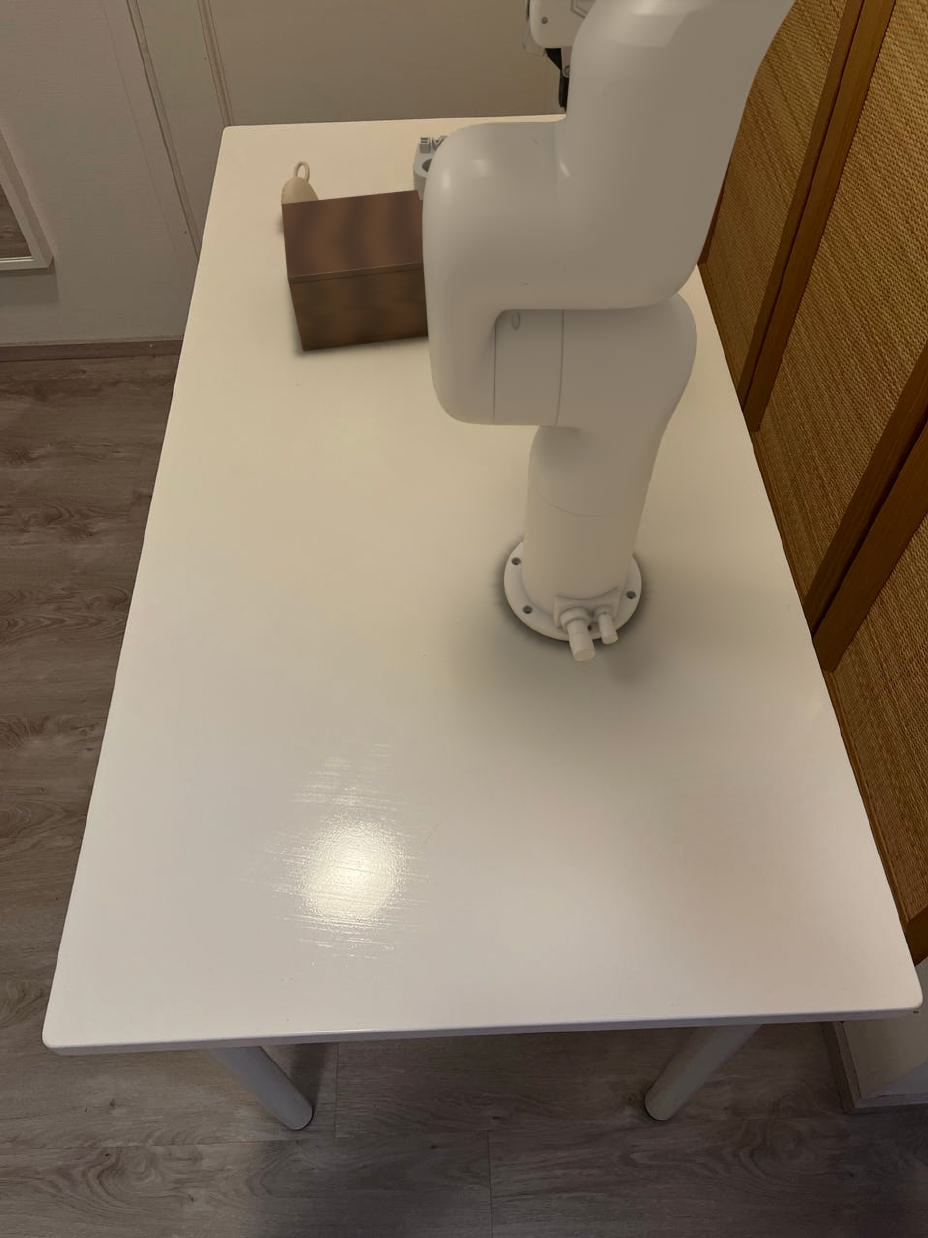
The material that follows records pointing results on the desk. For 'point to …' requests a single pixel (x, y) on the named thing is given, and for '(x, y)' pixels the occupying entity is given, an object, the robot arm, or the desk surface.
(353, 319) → the cabinet
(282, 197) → the decorative ornament
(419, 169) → the grey mounting bracket
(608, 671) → the desk surface
